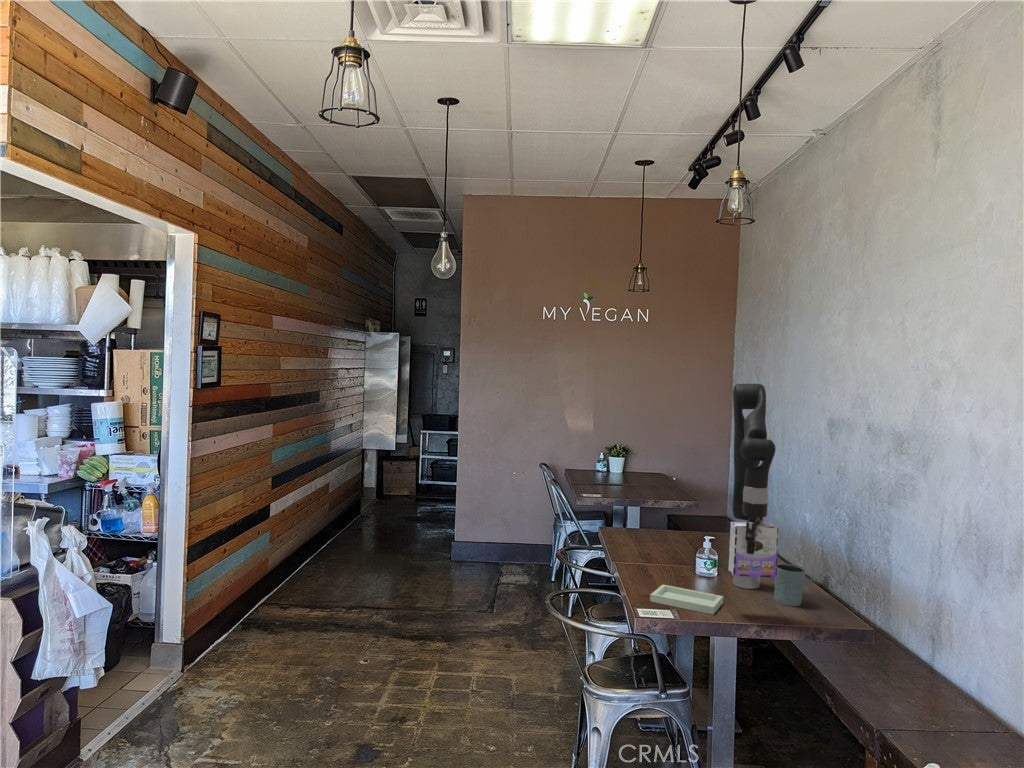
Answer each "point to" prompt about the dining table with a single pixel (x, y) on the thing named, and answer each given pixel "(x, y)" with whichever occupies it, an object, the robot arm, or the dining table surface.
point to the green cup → (789, 584)
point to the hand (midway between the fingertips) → (752, 550)
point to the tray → (687, 599)
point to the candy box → (763, 557)
